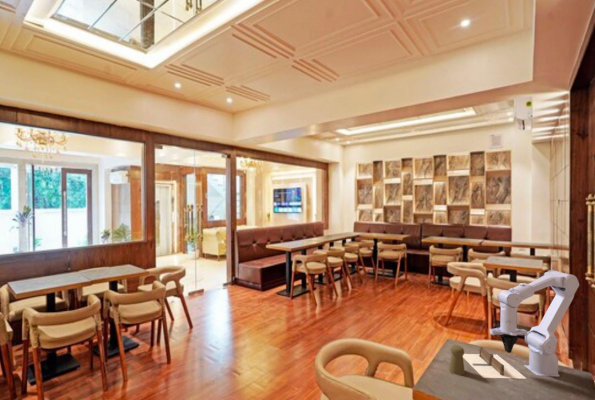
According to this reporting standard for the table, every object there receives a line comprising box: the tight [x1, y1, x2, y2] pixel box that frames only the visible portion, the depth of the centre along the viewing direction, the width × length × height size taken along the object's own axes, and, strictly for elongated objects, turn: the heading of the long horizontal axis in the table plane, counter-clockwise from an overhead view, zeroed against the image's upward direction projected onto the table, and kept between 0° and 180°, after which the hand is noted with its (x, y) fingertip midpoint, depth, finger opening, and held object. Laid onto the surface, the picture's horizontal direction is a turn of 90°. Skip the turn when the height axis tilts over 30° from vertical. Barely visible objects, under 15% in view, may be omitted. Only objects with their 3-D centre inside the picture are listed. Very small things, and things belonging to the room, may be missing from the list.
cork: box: [448, 344, 466, 376], centre depth 132 cm, size 6×6×11 cm
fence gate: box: [492, 357, 504, 375], centre depth 132 cm, size 1×7×4 cm, turn 179°
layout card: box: [463, 353, 527, 380], centre depth 137 cm, size 18×20×1 cm
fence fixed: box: [478, 346, 494, 366], centre depth 141 cm, size 2×9×4 cm, turn 179°
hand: (507, 351), depth 132 cm, fingers closed
